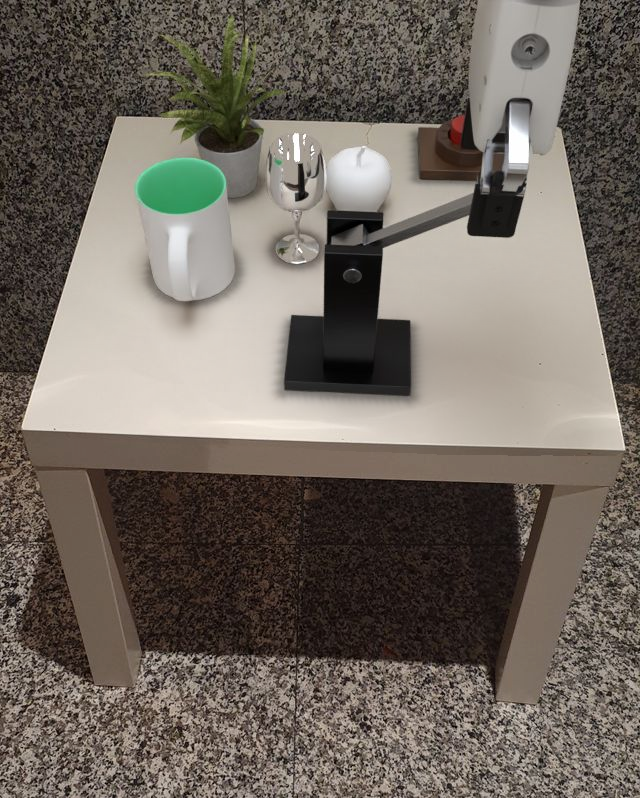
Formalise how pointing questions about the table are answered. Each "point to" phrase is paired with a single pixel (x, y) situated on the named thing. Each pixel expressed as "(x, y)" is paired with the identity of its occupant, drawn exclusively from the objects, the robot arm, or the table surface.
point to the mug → (186, 227)
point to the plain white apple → (358, 180)
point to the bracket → (350, 324)
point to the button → (457, 129)
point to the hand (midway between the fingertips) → (485, 188)
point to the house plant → (222, 115)
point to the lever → (407, 225)
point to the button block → (449, 156)
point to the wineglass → (296, 189)
